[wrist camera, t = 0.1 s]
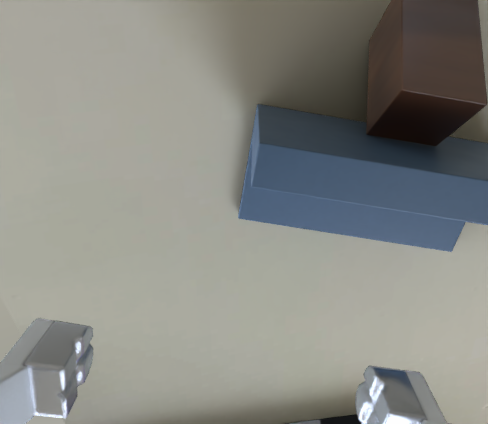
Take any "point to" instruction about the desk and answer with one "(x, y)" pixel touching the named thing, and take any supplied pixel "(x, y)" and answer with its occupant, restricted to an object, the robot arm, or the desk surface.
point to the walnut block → (425, 70)
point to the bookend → (361, 180)
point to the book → (334, 420)
